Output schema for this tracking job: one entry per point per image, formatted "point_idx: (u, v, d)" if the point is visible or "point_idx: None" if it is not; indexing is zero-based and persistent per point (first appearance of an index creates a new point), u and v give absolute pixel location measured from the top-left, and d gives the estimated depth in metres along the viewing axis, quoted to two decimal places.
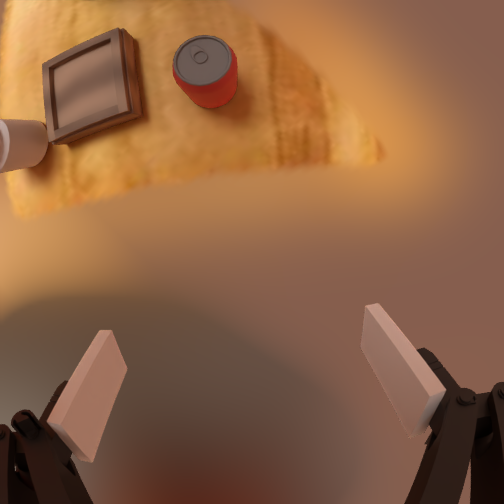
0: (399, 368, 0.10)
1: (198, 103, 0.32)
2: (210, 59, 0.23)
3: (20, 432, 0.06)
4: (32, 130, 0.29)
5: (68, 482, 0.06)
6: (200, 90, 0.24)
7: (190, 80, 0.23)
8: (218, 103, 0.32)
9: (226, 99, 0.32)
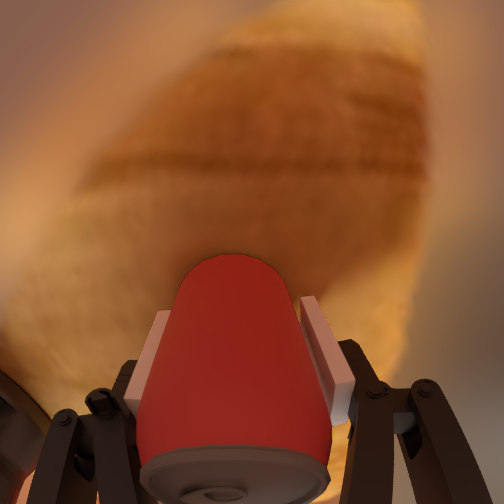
0: (319, 356, 0.11)
1: None
2: (235, 478, 0.06)
3: (93, 410, 0.08)
4: None
5: (136, 469, 0.07)
6: None
7: (298, 498, 0.07)
8: None
9: (288, 297, 0.14)
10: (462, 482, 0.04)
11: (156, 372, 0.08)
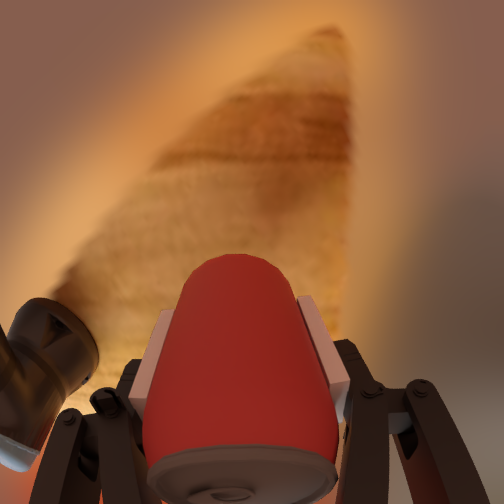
0: None
1: None
2: (243, 478, 0.06)
3: (98, 409, 0.08)
4: None
5: (140, 468, 0.07)
6: None
7: (305, 497, 0.07)
8: None
9: (292, 297, 0.14)
10: (459, 482, 0.04)
11: (163, 372, 0.08)
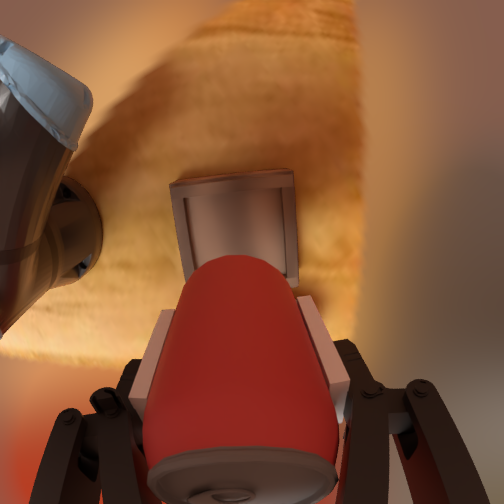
0: None
1: None
2: (243, 480, 0.06)
3: (98, 409, 0.08)
4: None
5: (140, 468, 0.07)
6: None
7: (305, 498, 0.07)
8: None
9: (292, 298, 0.14)
10: (459, 482, 0.04)
11: (163, 374, 0.08)
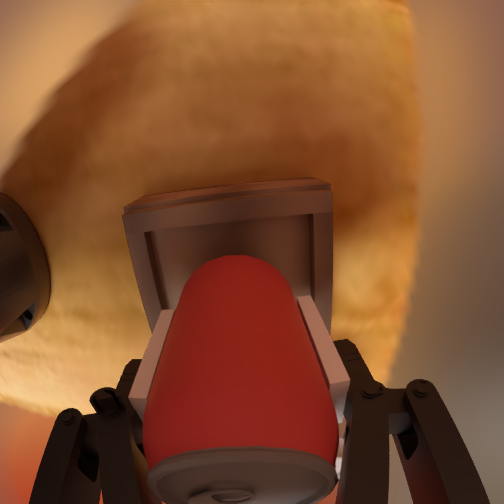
0: None
1: None
2: (243, 480, 0.06)
3: (98, 409, 0.08)
4: None
5: (140, 468, 0.07)
6: None
7: (305, 498, 0.07)
8: None
9: (292, 298, 0.14)
10: (459, 482, 0.04)
11: (163, 374, 0.08)
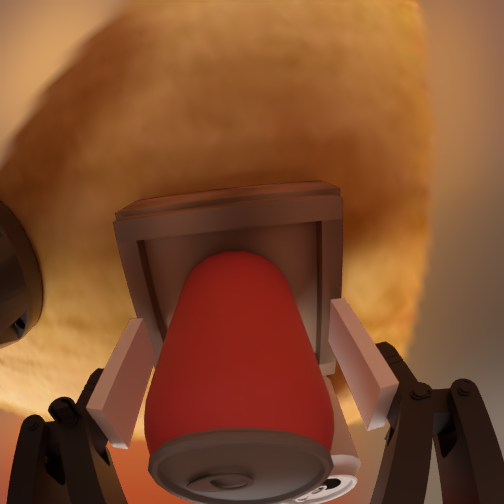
0: (357, 360, 0.11)
1: None
2: (241, 465, 0.07)
3: (57, 419, 0.07)
4: None
5: (102, 474, 0.06)
6: None
7: (302, 485, 0.07)
8: None
9: (289, 292, 0.15)
10: (489, 481, 0.04)
11: (164, 362, 0.09)
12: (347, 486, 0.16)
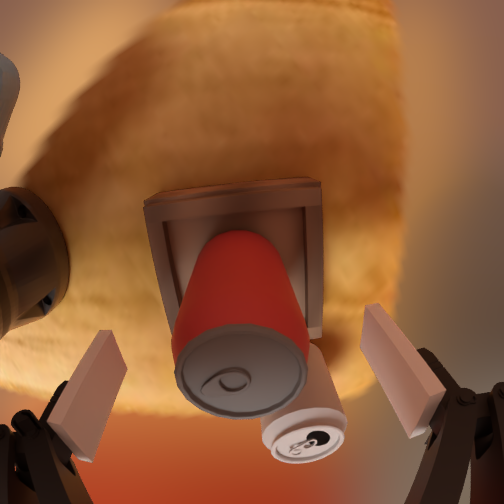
0: (399, 368, 0.10)
1: None
2: (241, 362, 0.11)
3: (20, 432, 0.06)
4: None
5: (68, 482, 0.06)
6: None
7: (287, 394, 0.12)
8: None
9: (280, 260, 0.19)
10: None
11: (189, 296, 0.13)
12: (336, 443, 0.20)
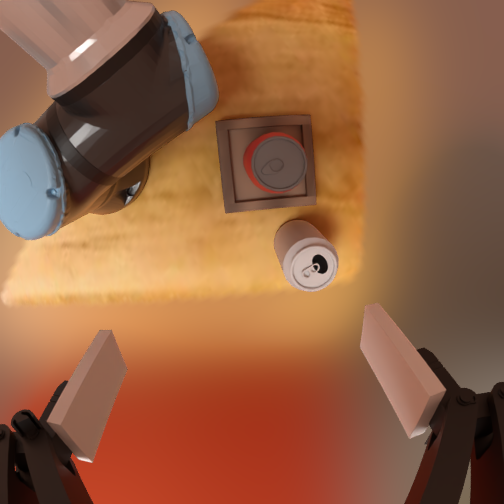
0: (399, 368, 0.10)
1: None
2: (280, 155, 0.27)
3: (20, 432, 0.06)
4: (296, 227, 0.41)
5: (68, 482, 0.06)
6: None
7: (299, 176, 0.28)
8: None
9: None
10: None
11: (253, 141, 0.29)
12: (332, 272, 0.36)
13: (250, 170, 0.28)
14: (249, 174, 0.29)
